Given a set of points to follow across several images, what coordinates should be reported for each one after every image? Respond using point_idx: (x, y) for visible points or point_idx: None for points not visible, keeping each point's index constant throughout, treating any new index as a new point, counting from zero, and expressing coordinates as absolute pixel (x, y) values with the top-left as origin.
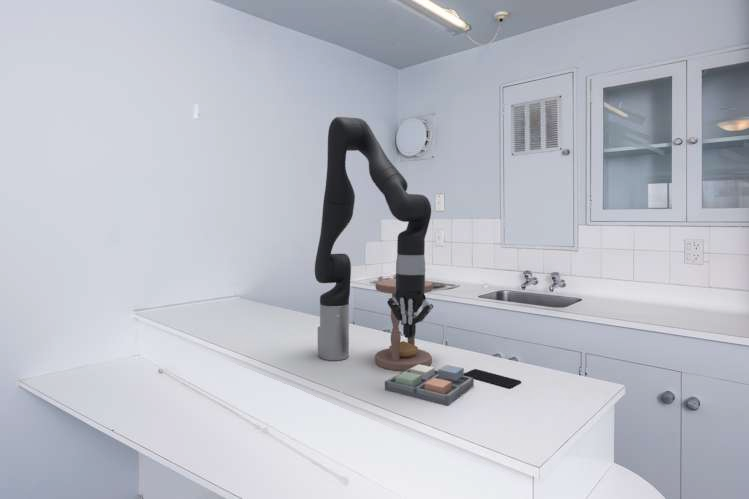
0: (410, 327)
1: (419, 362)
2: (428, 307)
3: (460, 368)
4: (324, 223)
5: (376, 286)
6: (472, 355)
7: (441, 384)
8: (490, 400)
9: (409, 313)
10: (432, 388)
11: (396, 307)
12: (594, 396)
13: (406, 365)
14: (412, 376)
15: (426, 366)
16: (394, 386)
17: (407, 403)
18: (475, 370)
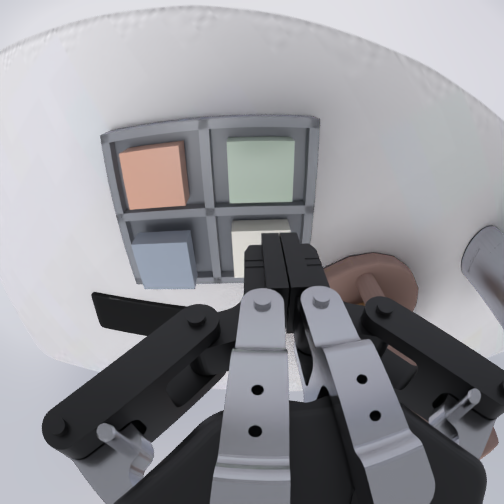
0: (264, 281)
1: None
2: (43, 426)
3: (148, 282)
4: None
5: (496, 435)
6: None
7: (134, 171)
8: (73, 222)
9: (264, 364)
10: (153, 146)
11: (436, 387)
12: (27, 318)
13: (329, 275)
14: (246, 174)
15: None
16: (281, 116)
17: (200, 69)
18: None
